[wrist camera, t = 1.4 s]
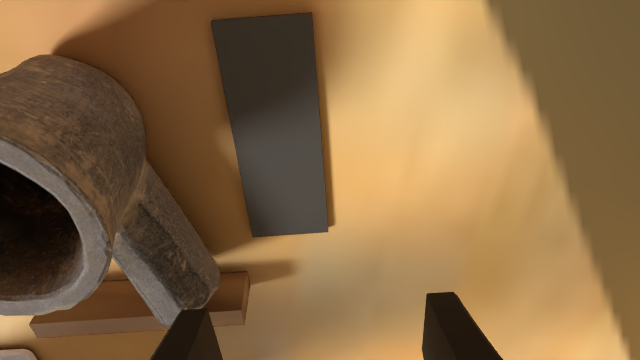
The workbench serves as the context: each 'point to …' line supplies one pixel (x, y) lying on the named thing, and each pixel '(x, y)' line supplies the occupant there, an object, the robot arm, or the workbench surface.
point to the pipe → (87, 197)
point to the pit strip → (275, 120)
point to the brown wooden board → (137, 310)
